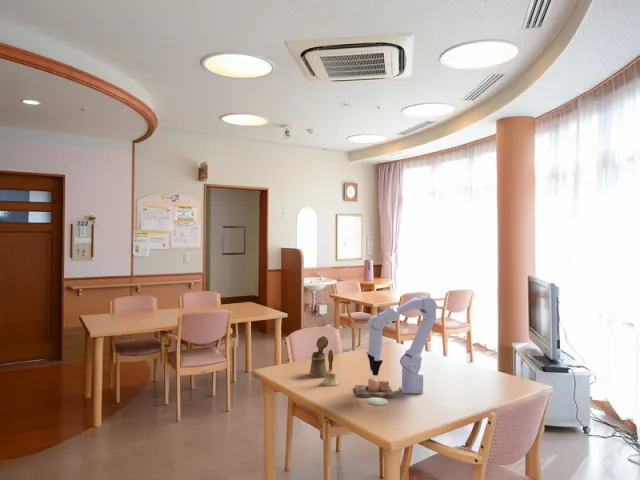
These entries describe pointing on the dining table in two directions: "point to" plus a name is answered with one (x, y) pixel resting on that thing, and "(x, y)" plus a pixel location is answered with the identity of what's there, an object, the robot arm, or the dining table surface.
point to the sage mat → (377, 401)
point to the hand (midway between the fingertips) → (374, 372)
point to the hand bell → (330, 373)
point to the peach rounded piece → (376, 384)
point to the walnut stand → (383, 394)
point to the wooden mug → (319, 359)
